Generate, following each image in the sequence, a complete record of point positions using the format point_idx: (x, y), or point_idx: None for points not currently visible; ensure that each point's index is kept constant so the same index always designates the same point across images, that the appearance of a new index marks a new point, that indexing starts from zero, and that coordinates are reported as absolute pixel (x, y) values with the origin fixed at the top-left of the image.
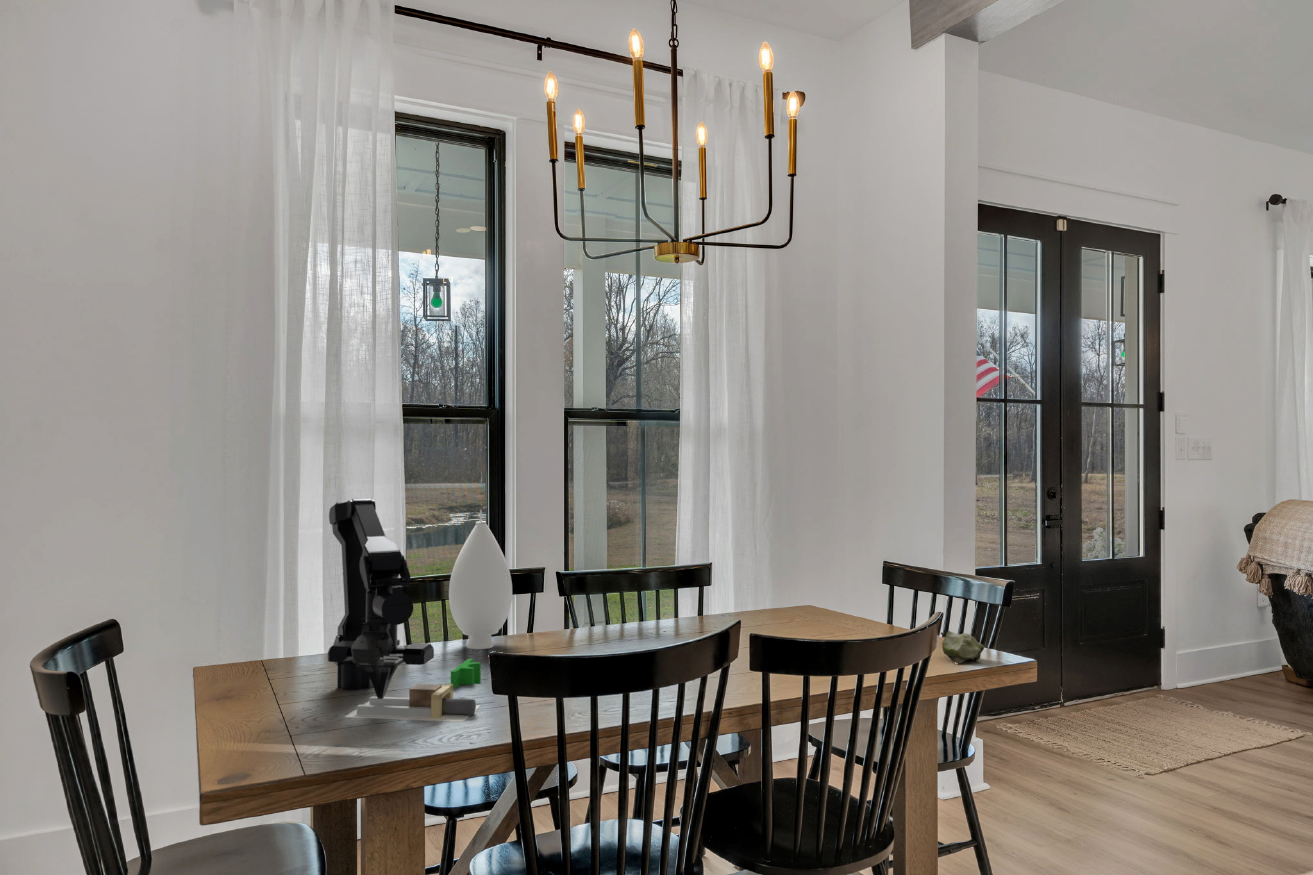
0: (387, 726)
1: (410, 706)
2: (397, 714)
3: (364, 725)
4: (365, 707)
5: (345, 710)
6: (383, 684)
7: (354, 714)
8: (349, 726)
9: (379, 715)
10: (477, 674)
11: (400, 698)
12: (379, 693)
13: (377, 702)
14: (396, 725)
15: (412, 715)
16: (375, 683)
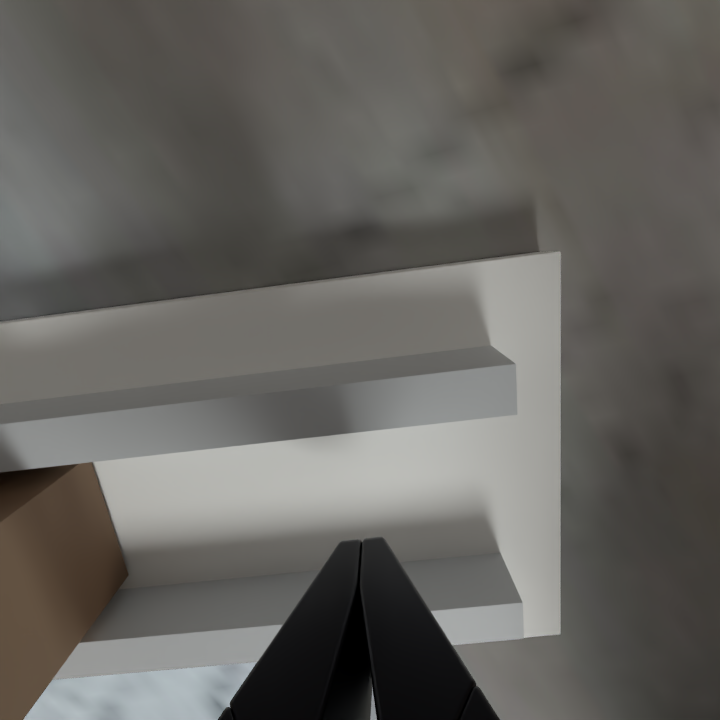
0: (157, 249)
1: (39, 487)
2: (136, 391)
3: (344, 225)
4: (422, 372)
5: (663, 503)
6: (271, 672)
7: (506, 335)
8: (448, 168)
9: (288, 362)
10: None
11: (252, 638)
12: (356, 570)
13: (441, 578)
14: (109, 288)
15: (16, 405)
16: (404, 670)
